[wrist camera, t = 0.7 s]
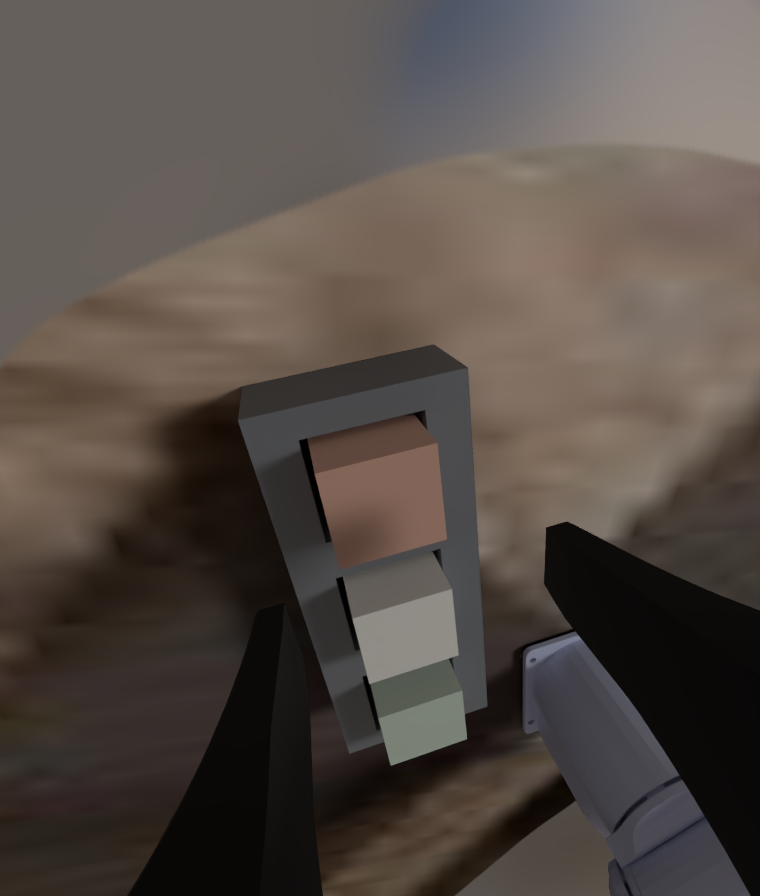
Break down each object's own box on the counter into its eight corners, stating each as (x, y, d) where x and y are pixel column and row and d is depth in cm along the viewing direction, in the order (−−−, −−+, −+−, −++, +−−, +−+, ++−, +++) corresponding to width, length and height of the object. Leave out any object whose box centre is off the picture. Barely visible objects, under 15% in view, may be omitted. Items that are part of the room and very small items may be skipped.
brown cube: (417, 489, 19) (446, 539, 16) (327, 513, 19) (339, 570, 15) (406, 404, 17) (437, 442, 14) (305, 428, 17) (314, 473, 14)
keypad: (462, 654, 28) (487, 706, 25) (339, 693, 27) (349, 753, 24) (434, 344, 18) (468, 367, 15) (242, 386, 17) (237, 420, 14)
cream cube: (431, 596, 22) (458, 655, 19) (354, 619, 22) (369, 684, 19) (423, 534, 20) (452, 588, 17) (338, 558, 20) (352, 618, 17)
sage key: (442, 677, 25) (467, 739, 22) (374, 699, 25) (390, 765, 22) (436, 629, 23) (462, 690, 20) (362, 653, 23) (378, 718, 20)
